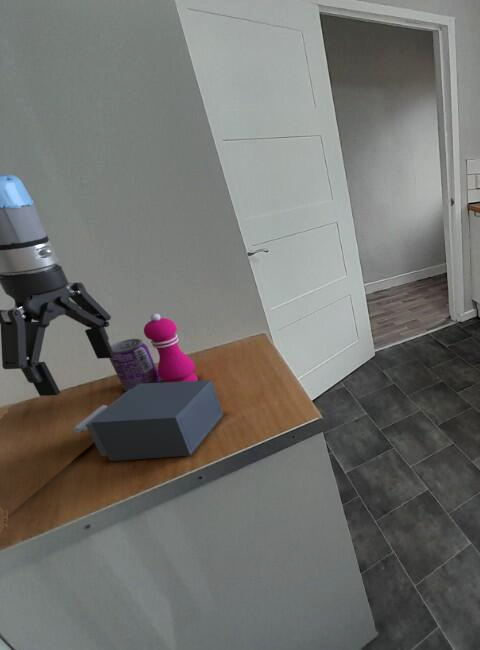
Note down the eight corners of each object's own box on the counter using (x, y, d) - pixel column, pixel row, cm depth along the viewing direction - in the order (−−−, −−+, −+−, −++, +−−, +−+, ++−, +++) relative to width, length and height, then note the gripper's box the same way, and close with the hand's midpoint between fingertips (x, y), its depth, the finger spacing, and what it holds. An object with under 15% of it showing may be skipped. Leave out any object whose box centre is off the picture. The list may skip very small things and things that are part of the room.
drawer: (73, 458, 80) (55, 426, 76) (117, 419, 90) (103, 390, 87) (175, 451, 82) (163, 420, 79) (207, 414, 92) (197, 385, 89)
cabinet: (110, 461, 80) (90, 422, 76) (153, 419, 92) (138, 383, 88) (190, 455, 82) (175, 417, 78) (223, 415, 93) (211, 380, 89)
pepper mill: (165, 396, 99) (133, 324, 91) (164, 382, 104) (134, 312, 96) (201, 385, 103) (174, 315, 95) (198, 372, 108) (172, 304, 100)
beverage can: (161, 374, 107) (144, 334, 102) (162, 387, 102) (144, 346, 97) (125, 384, 103) (106, 343, 98) (125, 398, 98) (104, 356, 93)
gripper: (-22, 295, 59) (44, 413, 68) (108, 248, 81) (145, 342, 90) (-82, 296, 59) (-7, 416, 67) (66, 249, 81) (107, 344, 89)
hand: (80, 374), depth 79 cm, fingers open, 12 cm apart
